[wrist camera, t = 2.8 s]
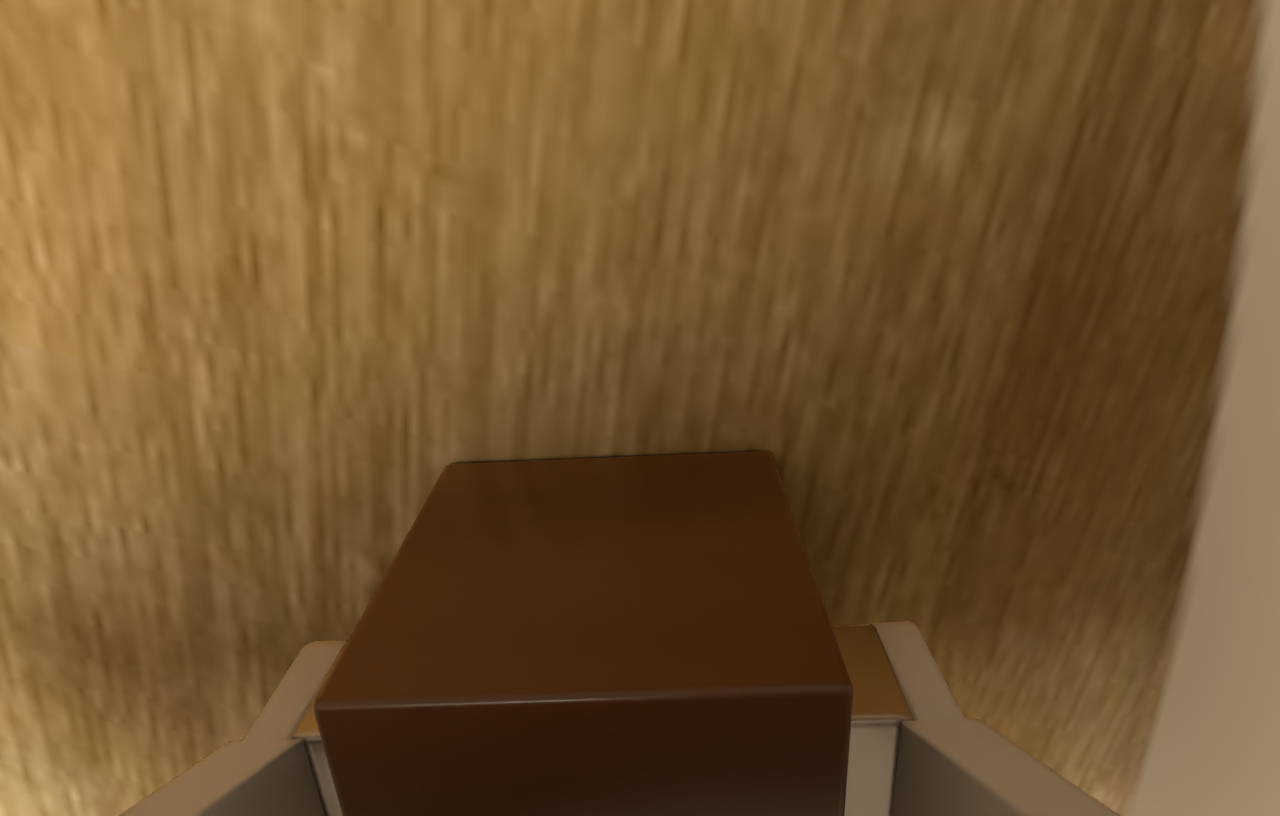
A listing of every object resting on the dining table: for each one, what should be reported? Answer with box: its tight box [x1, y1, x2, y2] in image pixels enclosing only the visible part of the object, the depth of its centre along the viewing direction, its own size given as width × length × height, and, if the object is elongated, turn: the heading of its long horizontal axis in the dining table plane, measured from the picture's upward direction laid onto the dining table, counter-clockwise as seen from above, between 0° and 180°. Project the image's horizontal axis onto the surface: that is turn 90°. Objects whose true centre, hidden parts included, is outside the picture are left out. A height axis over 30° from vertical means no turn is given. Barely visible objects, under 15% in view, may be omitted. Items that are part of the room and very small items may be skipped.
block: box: [314, 451, 854, 816], centre depth 9 cm, size 4×4×4 cm
